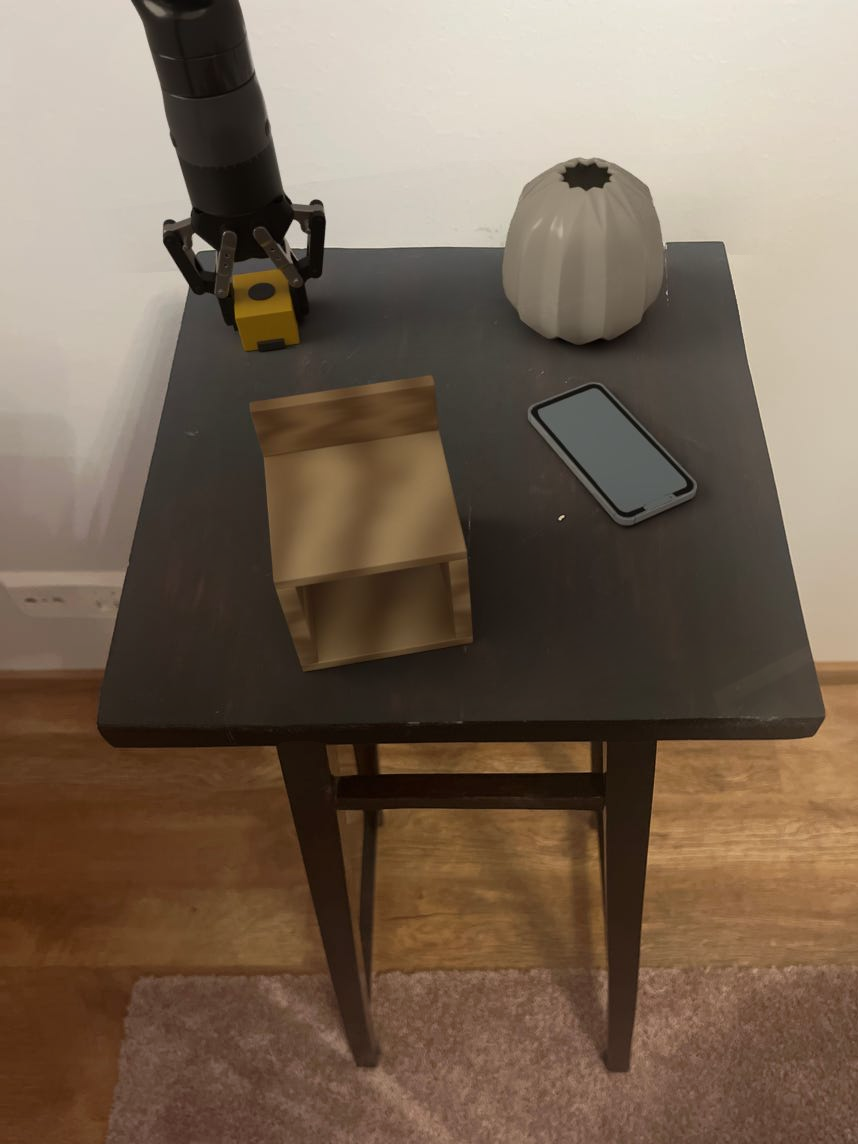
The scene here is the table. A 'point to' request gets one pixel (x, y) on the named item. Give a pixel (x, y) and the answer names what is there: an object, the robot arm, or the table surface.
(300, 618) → the shelf
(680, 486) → the smartphone
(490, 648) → the table surface
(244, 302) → the measuring tape
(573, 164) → the vase
